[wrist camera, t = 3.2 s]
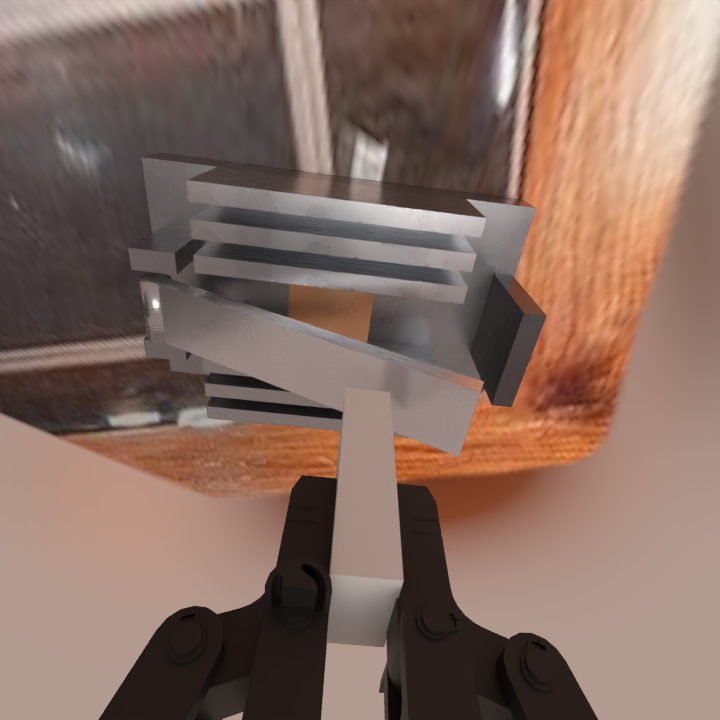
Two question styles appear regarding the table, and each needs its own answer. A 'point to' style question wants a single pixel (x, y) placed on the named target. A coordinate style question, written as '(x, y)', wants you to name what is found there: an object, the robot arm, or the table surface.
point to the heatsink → (342, 272)
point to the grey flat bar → (310, 359)
